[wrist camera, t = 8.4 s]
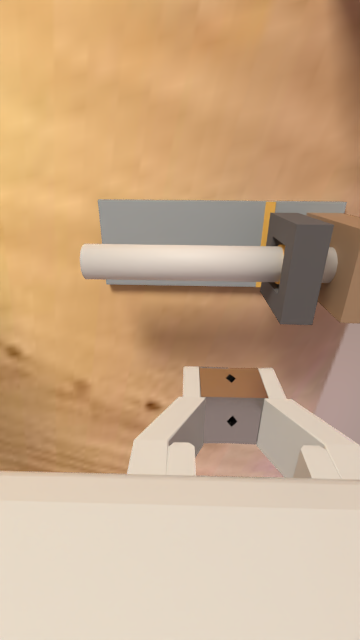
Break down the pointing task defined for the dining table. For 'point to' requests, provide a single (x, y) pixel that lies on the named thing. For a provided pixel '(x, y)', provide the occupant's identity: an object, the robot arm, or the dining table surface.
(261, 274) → the pipe stand
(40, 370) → the dining table surface
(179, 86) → the dining table surface
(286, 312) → the grey rectangular frame
